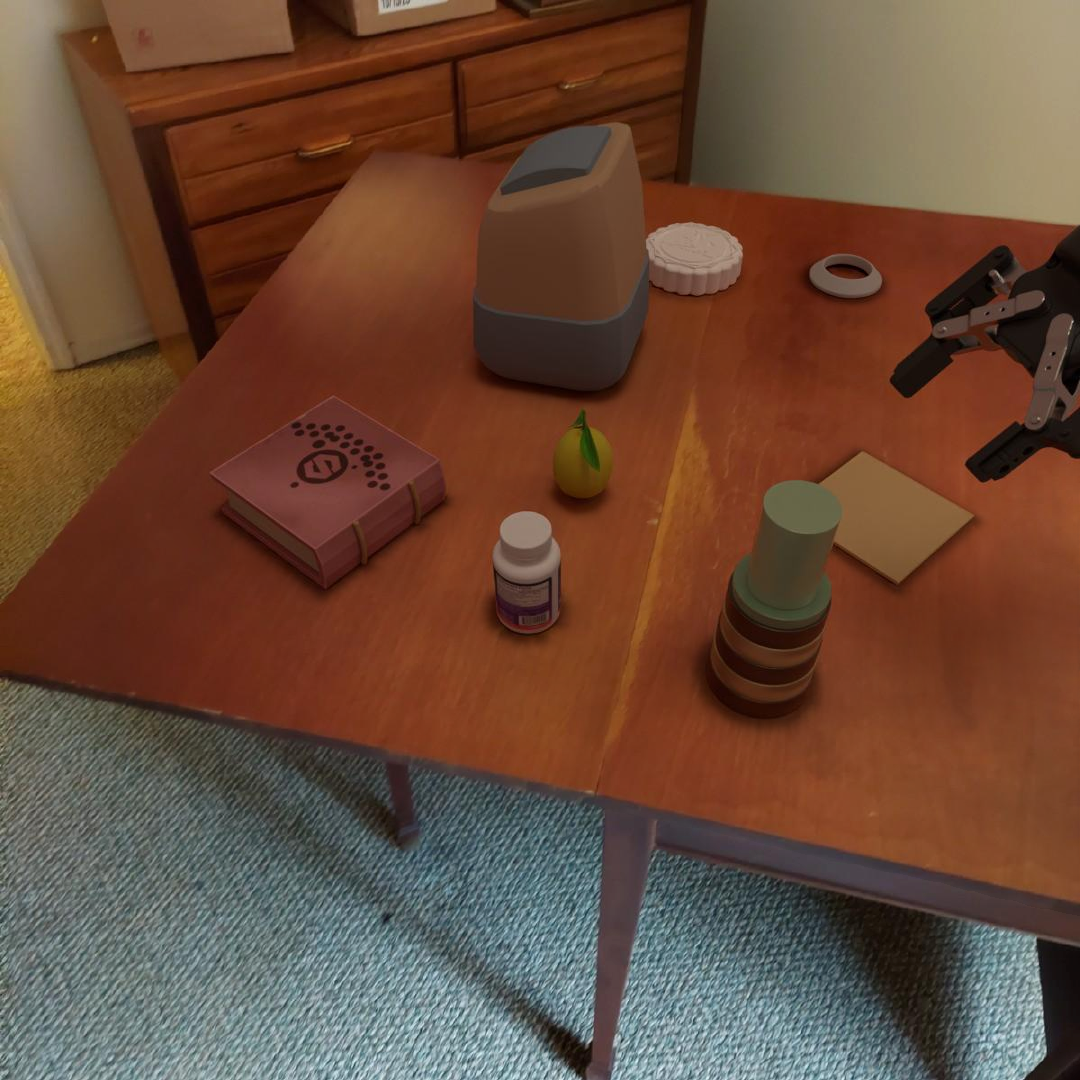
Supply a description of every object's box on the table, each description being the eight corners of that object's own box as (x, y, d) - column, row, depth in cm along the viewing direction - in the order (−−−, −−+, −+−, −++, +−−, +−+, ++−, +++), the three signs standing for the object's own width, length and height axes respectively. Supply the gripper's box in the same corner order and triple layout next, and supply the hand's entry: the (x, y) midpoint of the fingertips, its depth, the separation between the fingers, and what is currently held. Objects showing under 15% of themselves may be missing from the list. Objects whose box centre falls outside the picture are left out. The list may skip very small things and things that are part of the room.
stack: (830, 677, 75) (860, 594, 67) (765, 737, 71) (789, 656, 64) (750, 618, 79) (770, 534, 71) (685, 672, 75) (699, 589, 68)
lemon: (597, 527, 86) (601, 443, 79) (539, 507, 88) (537, 423, 81) (626, 482, 90) (632, 398, 83) (570, 464, 92) (571, 380, 85)
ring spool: (848, 594, 67) (878, 508, 61) (788, 646, 64) (813, 561, 58) (772, 542, 71) (793, 456, 65) (711, 589, 68) (727, 503, 62)
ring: (871, 261, 117) (875, 248, 116) (888, 299, 112) (892, 285, 110) (803, 261, 117) (805, 248, 116) (816, 299, 112) (819, 285, 110)
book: (332, 594, 81) (321, 554, 77) (223, 512, 88) (209, 472, 84) (450, 504, 88) (446, 463, 85) (341, 435, 95) (333, 395, 92)
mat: (973, 518, 87) (974, 515, 86) (897, 585, 81) (898, 582, 81) (861, 453, 93) (862, 450, 92) (784, 512, 87) (784, 509, 87)
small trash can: (512, 300, 112) (505, 98, 95) (652, 321, 109) (670, 115, 92) (465, 384, 101) (448, 171, 84) (620, 410, 98) (634, 194, 81)
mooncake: (756, 262, 117) (760, 235, 115) (712, 307, 111) (716, 280, 108) (669, 235, 122) (672, 209, 119) (622, 278, 115) (624, 251, 113)
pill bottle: (518, 577, 82) (514, 495, 75) (572, 601, 80) (574, 519, 73) (483, 619, 79) (476, 538, 72) (539, 645, 77) (537, 565, 70)
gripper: (1066, 141, 56) (848, 339, 62) (1257, 262, 47) (977, 481, 53) (1105, 213, 61) (898, 390, 67) (1284, 335, 51) (1025, 528, 58)
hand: (933, 430), depth 60 cm, fingers open, 8 cm apart
